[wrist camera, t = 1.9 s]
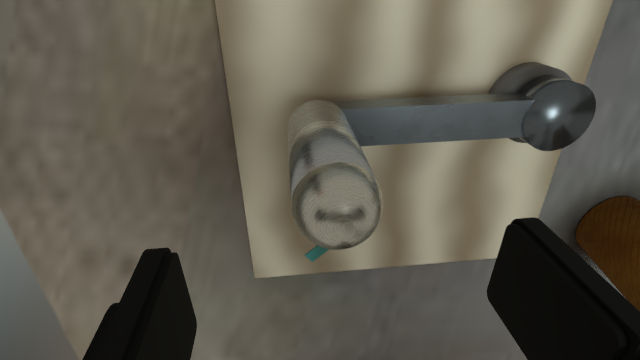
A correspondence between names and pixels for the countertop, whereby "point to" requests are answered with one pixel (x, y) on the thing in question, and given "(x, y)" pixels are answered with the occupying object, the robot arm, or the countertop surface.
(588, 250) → the disposable coffee cup
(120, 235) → the countertop surface
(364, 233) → the lever
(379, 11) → the lever board
